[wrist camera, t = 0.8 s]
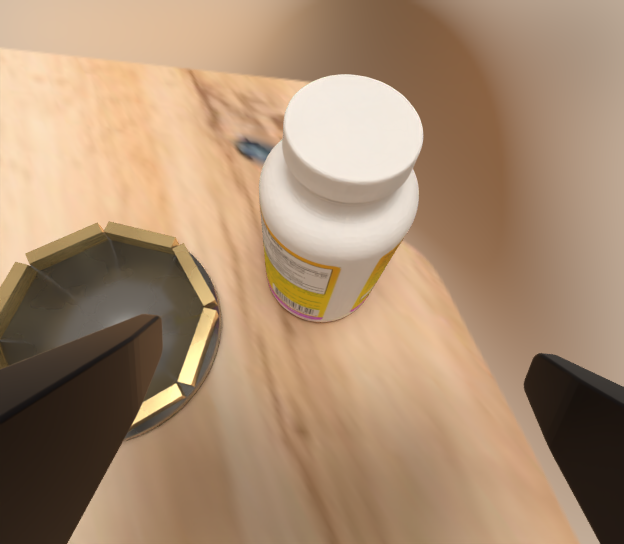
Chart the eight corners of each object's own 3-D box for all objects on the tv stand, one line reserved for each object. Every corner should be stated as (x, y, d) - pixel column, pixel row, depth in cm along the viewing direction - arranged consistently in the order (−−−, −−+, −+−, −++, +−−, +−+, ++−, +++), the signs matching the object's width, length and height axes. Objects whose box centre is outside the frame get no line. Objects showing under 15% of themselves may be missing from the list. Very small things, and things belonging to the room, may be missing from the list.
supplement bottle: (356, 222, 26) (421, 47, 14) (382, 315, 24) (486, 195, 12) (258, 235, 25) (241, 58, 13) (274, 333, 23) (270, 223, 11)
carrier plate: (258, 365, 22) (256, 358, 20) (40, 497, 19) (13, 504, 17) (168, 208, 25) (160, 190, 23) (-29, 295, 22) (-57, 283, 20)
